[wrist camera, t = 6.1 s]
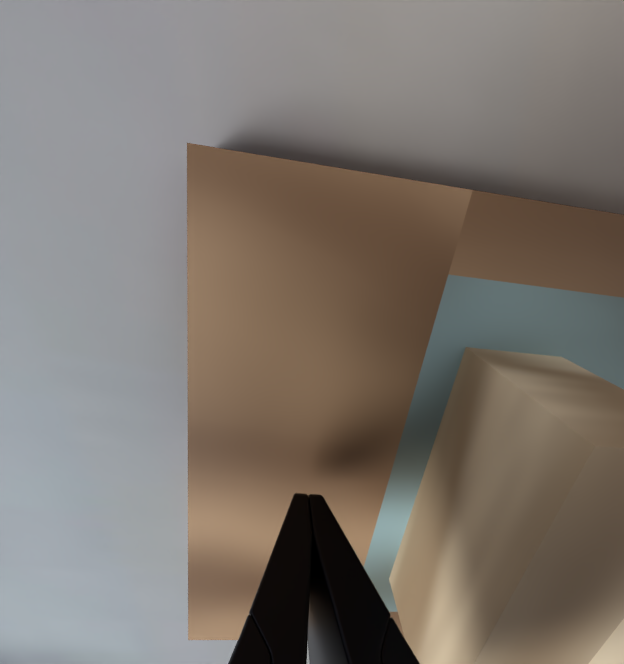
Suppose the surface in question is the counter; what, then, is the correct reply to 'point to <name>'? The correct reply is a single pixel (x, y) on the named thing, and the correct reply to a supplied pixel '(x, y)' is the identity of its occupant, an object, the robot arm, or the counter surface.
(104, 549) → the counter surface
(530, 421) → the t block
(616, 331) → the push board
